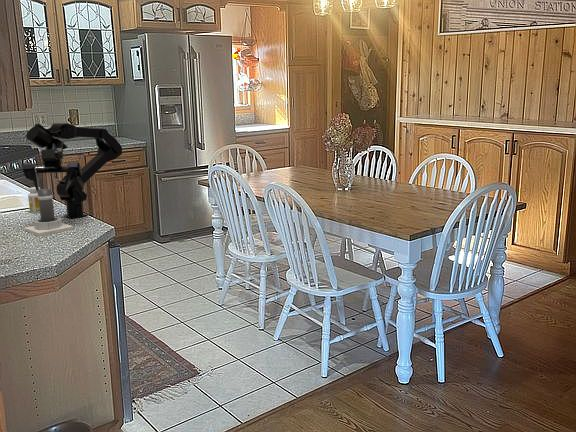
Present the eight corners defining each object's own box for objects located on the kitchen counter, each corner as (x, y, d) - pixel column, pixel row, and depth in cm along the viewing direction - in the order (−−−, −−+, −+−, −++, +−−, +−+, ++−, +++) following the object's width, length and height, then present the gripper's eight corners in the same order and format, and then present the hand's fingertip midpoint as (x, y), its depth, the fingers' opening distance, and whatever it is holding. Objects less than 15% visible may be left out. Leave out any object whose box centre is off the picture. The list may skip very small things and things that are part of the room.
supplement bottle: (46, 210, 235) (44, 186, 233) (41, 213, 230) (38, 188, 228) (33, 210, 235) (30, 186, 233) (27, 213, 230) (24, 189, 228)
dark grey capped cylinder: (39, 227, 203) (34, 190, 200) (52, 224, 206) (48, 188, 203) (45, 229, 200) (40, 191, 197) (58, 226, 203) (54, 189, 200)
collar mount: (24, 230, 203) (23, 220, 202) (58, 224, 211) (57, 214, 211) (39, 236, 195) (37, 225, 194) (73, 229, 203) (72, 219, 202)
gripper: (20, 140, 202) (16, 178, 194) (77, 139, 205) (75, 176, 198) (28, 159, 211) (24, 196, 204) (82, 157, 215) (81, 193, 207)
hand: (51, 190), depth 203 cm, fingers open, 9 cm apart
